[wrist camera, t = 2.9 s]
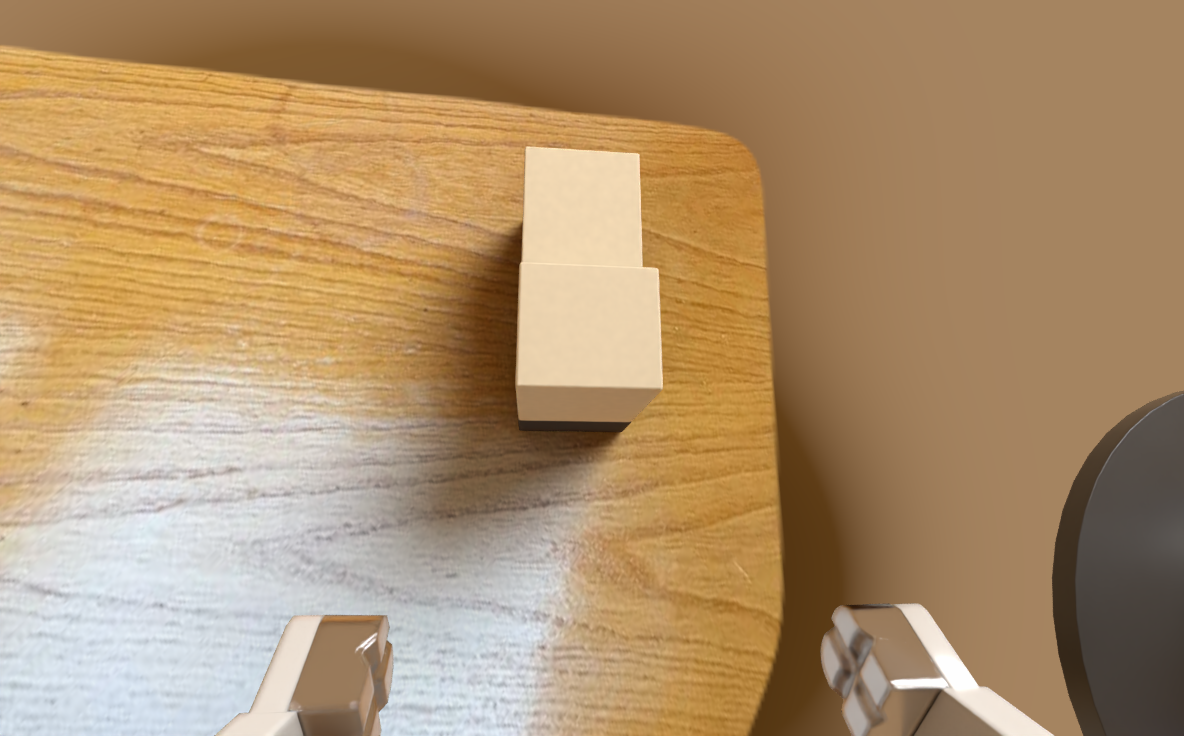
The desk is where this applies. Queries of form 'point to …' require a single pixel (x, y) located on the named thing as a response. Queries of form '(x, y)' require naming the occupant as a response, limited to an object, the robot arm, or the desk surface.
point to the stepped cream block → (584, 295)
